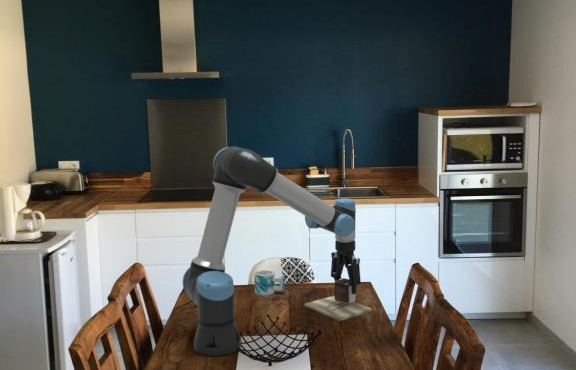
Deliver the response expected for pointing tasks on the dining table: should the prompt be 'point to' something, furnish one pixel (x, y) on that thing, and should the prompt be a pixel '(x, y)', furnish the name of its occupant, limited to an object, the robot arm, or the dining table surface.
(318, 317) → the dining table surface
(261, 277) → the mug
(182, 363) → the dining table surface
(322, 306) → the board
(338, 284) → the box
